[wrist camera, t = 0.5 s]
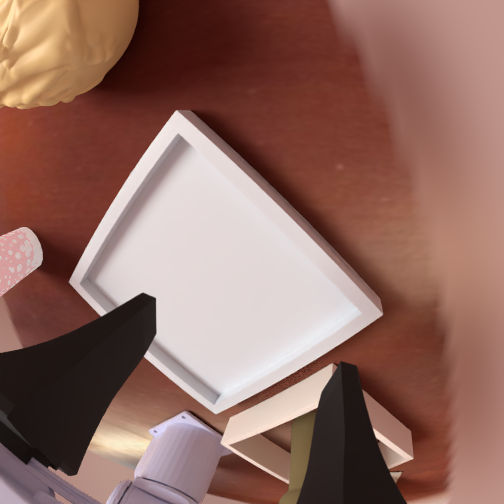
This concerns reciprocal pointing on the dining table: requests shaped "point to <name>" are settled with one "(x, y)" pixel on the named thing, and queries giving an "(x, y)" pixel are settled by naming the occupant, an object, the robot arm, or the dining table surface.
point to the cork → (299, 455)
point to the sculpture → (60, 47)
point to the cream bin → (296, 404)
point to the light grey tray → (220, 269)
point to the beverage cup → (18, 257)
